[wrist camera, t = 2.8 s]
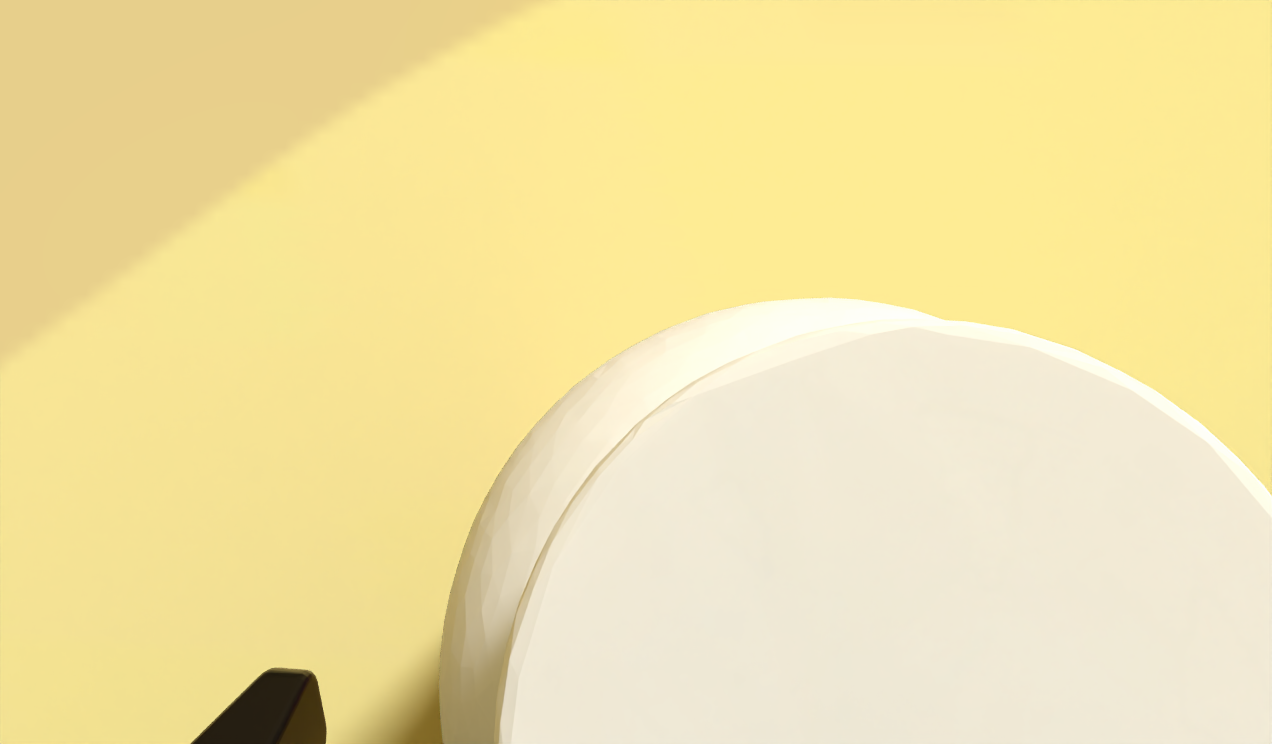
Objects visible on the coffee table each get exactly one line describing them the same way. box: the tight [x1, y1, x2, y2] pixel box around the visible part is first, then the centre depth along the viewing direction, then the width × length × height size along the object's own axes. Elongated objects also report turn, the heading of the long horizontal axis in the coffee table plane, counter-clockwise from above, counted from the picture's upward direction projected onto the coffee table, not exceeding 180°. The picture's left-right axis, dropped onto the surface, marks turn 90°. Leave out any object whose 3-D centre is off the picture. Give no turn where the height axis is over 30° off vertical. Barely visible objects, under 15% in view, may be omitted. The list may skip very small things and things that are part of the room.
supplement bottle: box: [439, 298, 1272, 744], centre depth 12 cm, size 7×7×13 cm
